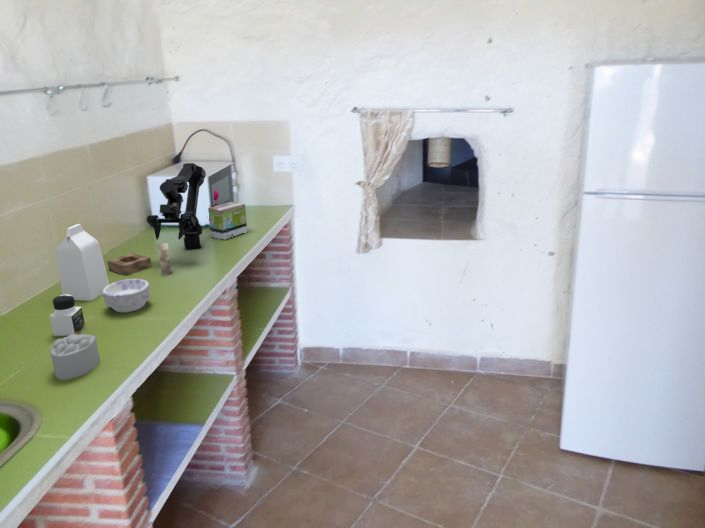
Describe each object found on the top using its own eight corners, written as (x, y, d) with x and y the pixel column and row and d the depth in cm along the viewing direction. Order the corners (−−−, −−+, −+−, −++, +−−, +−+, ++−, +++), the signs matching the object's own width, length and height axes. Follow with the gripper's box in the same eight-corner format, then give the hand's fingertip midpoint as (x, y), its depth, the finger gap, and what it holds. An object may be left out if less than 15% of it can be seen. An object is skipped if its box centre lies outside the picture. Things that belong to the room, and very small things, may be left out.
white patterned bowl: (103, 319, 201) (99, 297, 198) (108, 302, 215) (104, 281, 212) (151, 312, 205) (148, 291, 202) (153, 296, 218) (149, 276, 216)
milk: (91, 300, 217) (78, 231, 208) (63, 299, 219) (48, 230, 210) (110, 288, 228) (98, 222, 219) (83, 287, 230) (70, 221, 221)
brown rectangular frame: (134, 261, 256) (132, 253, 255) (151, 266, 249) (150, 257, 248) (108, 270, 247) (107, 261, 246) (126, 275, 240) (124, 266, 239)
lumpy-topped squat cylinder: (104, 357, 175) (99, 330, 172) (81, 380, 163) (76, 351, 160) (70, 356, 176) (65, 329, 173) (45, 379, 164) (39, 351, 161)
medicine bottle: (75, 336, 189) (68, 300, 185) (53, 336, 190) (45, 301, 185) (85, 326, 196) (78, 292, 192) (64, 326, 196) (56, 292, 192)
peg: (171, 270, 244) (167, 242, 240) (172, 273, 240) (168, 245, 236) (161, 272, 243) (157, 243, 239) (161, 275, 239) (157, 246, 235)
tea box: (224, 241, 281) (221, 210, 276) (210, 237, 286) (206, 207, 281) (248, 233, 292) (245, 203, 287) (233, 230, 298) (230, 200, 293)
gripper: (144, 196, 243) (137, 229, 236) (189, 195, 242) (184, 229, 235) (154, 210, 253) (148, 243, 246) (198, 209, 252) (192, 242, 245)
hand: (167, 239), depth 243 cm, fingers open, 9 cm apart
